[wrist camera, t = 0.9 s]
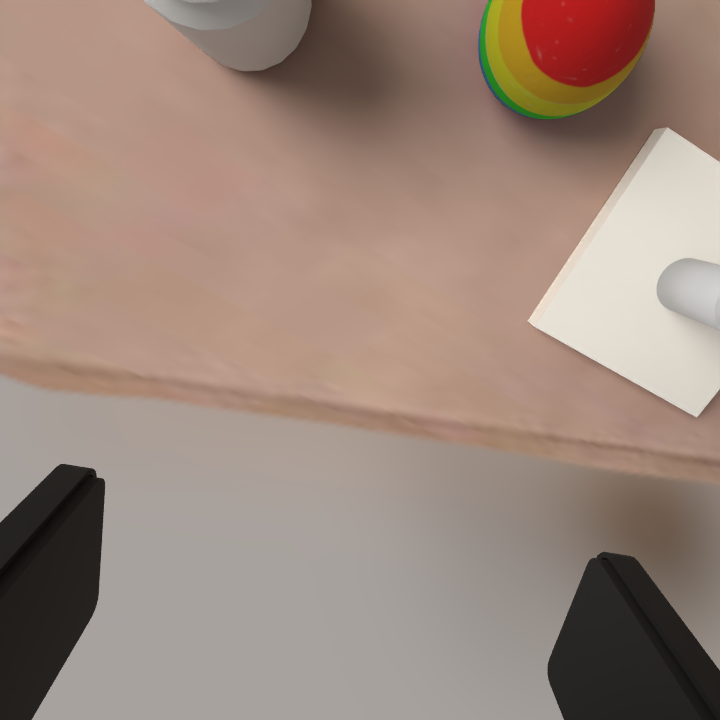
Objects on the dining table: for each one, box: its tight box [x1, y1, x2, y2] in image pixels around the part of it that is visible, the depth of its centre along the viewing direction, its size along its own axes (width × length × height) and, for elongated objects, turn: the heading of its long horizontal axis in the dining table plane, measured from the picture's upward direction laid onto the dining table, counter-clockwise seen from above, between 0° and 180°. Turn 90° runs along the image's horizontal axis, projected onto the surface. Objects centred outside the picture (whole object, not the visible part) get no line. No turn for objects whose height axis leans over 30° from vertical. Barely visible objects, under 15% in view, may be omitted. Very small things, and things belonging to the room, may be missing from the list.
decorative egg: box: [479, 0, 655, 119], centre depth 28 cm, size 8×8×10 cm
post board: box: [528, 127, 720, 417], centre depth 33 cm, size 14×14×9 cm
